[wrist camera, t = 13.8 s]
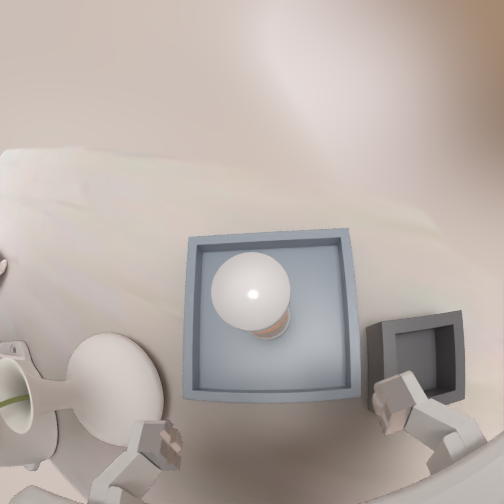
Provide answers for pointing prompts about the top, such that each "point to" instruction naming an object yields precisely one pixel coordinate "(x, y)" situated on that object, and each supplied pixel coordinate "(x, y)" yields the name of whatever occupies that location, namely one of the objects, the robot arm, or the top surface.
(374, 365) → the socket block
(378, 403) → the robot arm
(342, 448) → the top surface
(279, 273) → the tan bottle
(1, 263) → the white lumpy oval piece
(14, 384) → the flower in vase
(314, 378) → the parts tray
